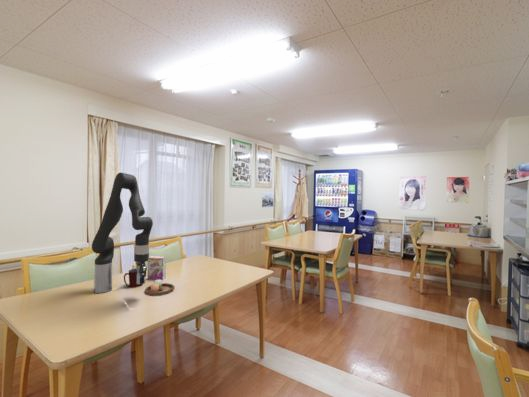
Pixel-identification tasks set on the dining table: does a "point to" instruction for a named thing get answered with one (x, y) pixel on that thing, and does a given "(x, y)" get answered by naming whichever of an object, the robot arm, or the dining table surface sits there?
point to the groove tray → (160, 290)
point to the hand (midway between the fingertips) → (140, 282)
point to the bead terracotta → (155, 287)
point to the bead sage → (158, 282)
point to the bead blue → (139, 278)
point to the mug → (132, 278)
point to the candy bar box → (156, 268)
